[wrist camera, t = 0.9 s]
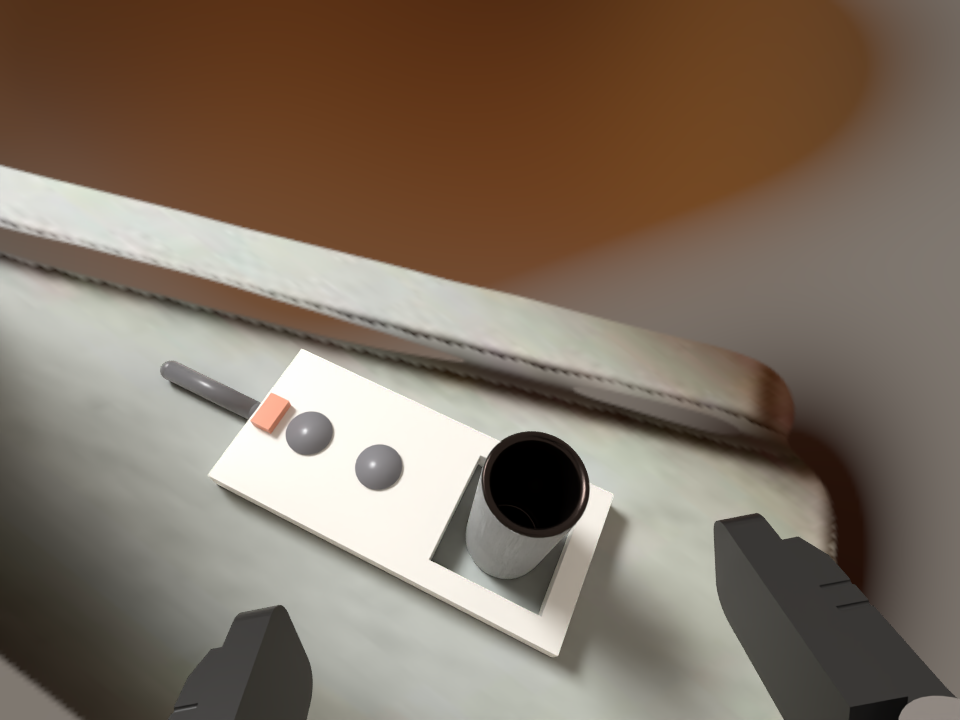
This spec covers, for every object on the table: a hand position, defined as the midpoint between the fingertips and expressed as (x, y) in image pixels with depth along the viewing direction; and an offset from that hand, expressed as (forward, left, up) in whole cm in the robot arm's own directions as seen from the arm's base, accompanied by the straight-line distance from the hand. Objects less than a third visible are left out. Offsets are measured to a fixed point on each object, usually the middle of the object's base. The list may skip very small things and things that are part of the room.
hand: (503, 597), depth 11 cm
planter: (0, +6, -22) cm, 23 cm away
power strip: (-9, +6, -22) cm, 24 cm away
